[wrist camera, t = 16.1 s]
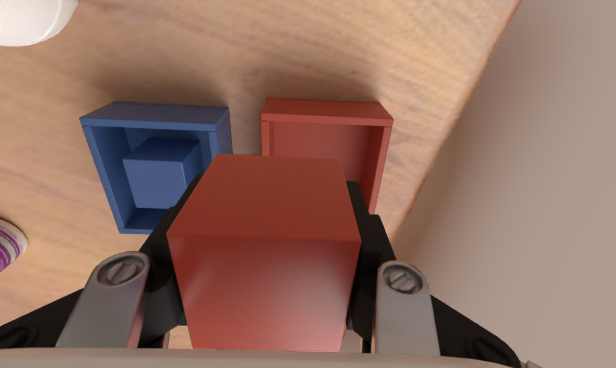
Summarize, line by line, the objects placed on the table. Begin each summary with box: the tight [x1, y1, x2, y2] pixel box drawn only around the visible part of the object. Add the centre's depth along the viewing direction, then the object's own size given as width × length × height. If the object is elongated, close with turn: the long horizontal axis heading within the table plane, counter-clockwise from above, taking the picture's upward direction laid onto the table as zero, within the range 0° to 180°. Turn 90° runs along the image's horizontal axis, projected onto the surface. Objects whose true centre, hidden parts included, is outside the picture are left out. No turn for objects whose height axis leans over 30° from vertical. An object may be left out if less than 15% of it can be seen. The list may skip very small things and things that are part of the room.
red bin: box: [260, 97, 394, 214], centre depth 26 cm, size 11×10×4 cm
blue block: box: [122, 138, 204, 209], centre depth 25 cm, size 4×4×4 cm
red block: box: [166, 154, 361, 352], centre depth 10 cm, size 4×4×4 cm
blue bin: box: [79, 102, 233, 234], centre depth 26 cm, size 11×10×4 cm
